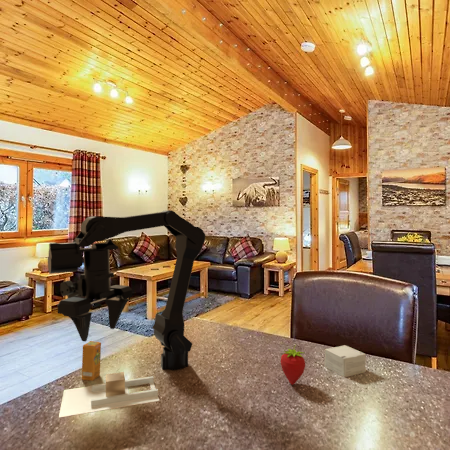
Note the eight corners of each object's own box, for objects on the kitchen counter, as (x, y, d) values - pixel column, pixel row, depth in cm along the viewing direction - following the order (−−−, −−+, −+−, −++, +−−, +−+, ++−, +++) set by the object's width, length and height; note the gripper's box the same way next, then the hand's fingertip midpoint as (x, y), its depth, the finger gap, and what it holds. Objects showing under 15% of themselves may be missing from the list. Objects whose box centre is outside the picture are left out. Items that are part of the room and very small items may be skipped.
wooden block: (123, 388, 82) (123, 371, 82) (124, 397, 78) (124, 379, 78) (105, 391, 81) (105, 374, 81) (105, 400, 77) (105, 381, 77)
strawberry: (298, 376, 92) (299, 338, 92) (309, 390, 85) (309, 349, 85) (276, 378, 91) (277, 339, 91) (285, 392, 84) (286, 350, 84)
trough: (151, 383, 88) (151, 372, 88) (159, 407, 77) (159, 395, 77) (64, 396, 82) (64, 384, 82) (58, 425, 70) (58, 411, 70)
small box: (345, 362, 102) (345, 344, 102) (366, 372, 95) (366, 353, 95) (323, 366, 99) (323, 348, 99) (344, 378, 92) (344, 358, 92)
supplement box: (93, 386, 86) (93, 346, 86) (81, 385, 87) (81, 345, 87) (101, 380, 90) (101, 341, 89) (89, 379, 90) (89, 340, 90)
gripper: (99, 262, 96) (100, 320, 96) (38, 274, 78) (40, 343, 79) (132, 264, 91) (134, 324, 92) (76, 276, 74) (78, 350, 74)
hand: (99, 334), depth 84 cm, fingers open, 9 cm apart
